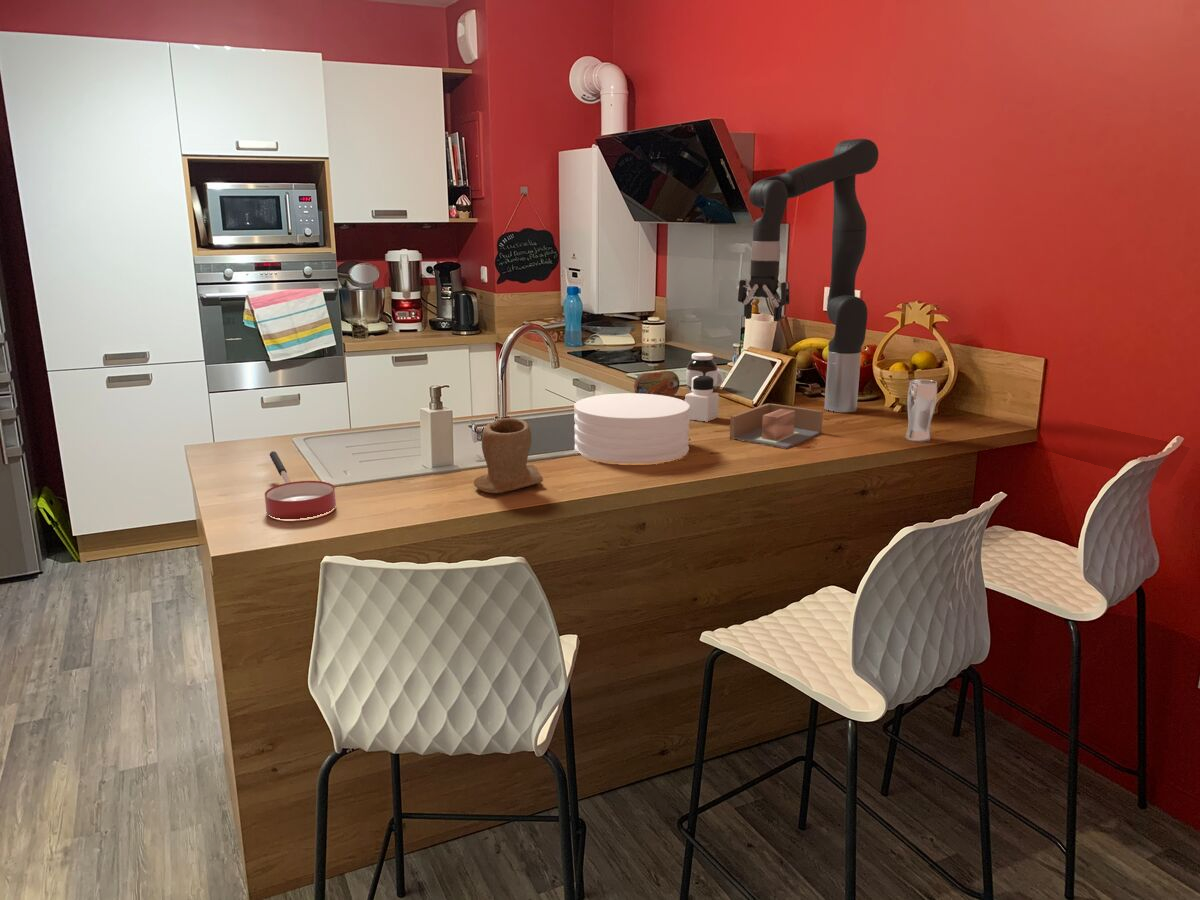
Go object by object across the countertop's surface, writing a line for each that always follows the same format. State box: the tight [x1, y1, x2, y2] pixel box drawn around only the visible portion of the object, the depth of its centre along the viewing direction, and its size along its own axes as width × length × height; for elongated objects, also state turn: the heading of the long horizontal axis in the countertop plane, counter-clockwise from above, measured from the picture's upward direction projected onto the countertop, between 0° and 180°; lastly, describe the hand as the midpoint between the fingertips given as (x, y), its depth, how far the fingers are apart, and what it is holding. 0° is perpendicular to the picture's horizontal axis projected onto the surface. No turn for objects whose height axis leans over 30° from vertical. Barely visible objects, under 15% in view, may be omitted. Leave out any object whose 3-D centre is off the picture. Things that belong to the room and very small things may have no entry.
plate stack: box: [573, 392, 690, 463], centre depth 219 cm, size 28×28×12 cm
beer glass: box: [905, 378, 938, 443], centre depth 229 cm, size 7×7×15 cm
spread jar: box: [685, 352, 724, 390], centre depth 293 cm, size 12×11×12 cm
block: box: [762, 409, 795, 441], centre depth 230 cm, size 4×10×6 cm, turn 142°
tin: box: [633, 370, 680, 397], centre depth 279 cm, size 15×3×8 cm, turn 115°
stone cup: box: [473, 417, 544, 494], centre depth 189 cm, size 15×12×15 cm
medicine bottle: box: [684, 376, 720, 423], centre depth 252 cm, size 7×7×12 cm
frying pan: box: [264, 450, 337, 519], centre depth 183 cm, size 32×13×6 cm, turn 36°
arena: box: [729, 402, 824, 449], centre depth 233 cm, size 20×16×6 cm
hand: (762, 319), depth 243 cm, fingers open, 8 cm apart
